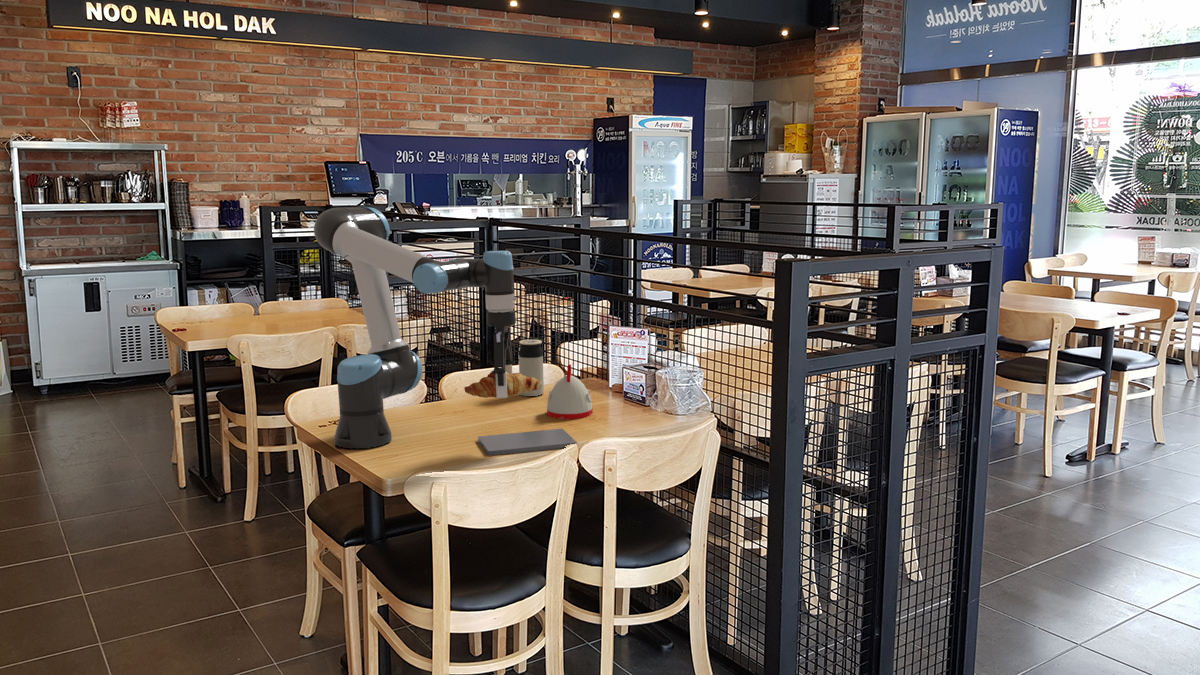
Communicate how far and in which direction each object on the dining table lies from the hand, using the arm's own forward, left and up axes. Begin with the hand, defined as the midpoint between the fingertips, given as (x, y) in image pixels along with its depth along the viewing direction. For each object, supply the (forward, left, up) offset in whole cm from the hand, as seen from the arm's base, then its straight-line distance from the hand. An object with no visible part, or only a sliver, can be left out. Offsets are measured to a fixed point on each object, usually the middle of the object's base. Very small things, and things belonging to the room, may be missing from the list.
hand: (505, 393), depth 242 cm
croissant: (0, 0, -1) cm, 1 cm away
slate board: (+6, +1, -15) cm, 16 cm away
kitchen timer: (+26, +29, -15) cm, 42 cm away
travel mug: (+21, +58, -15) cm, 64 cm away
